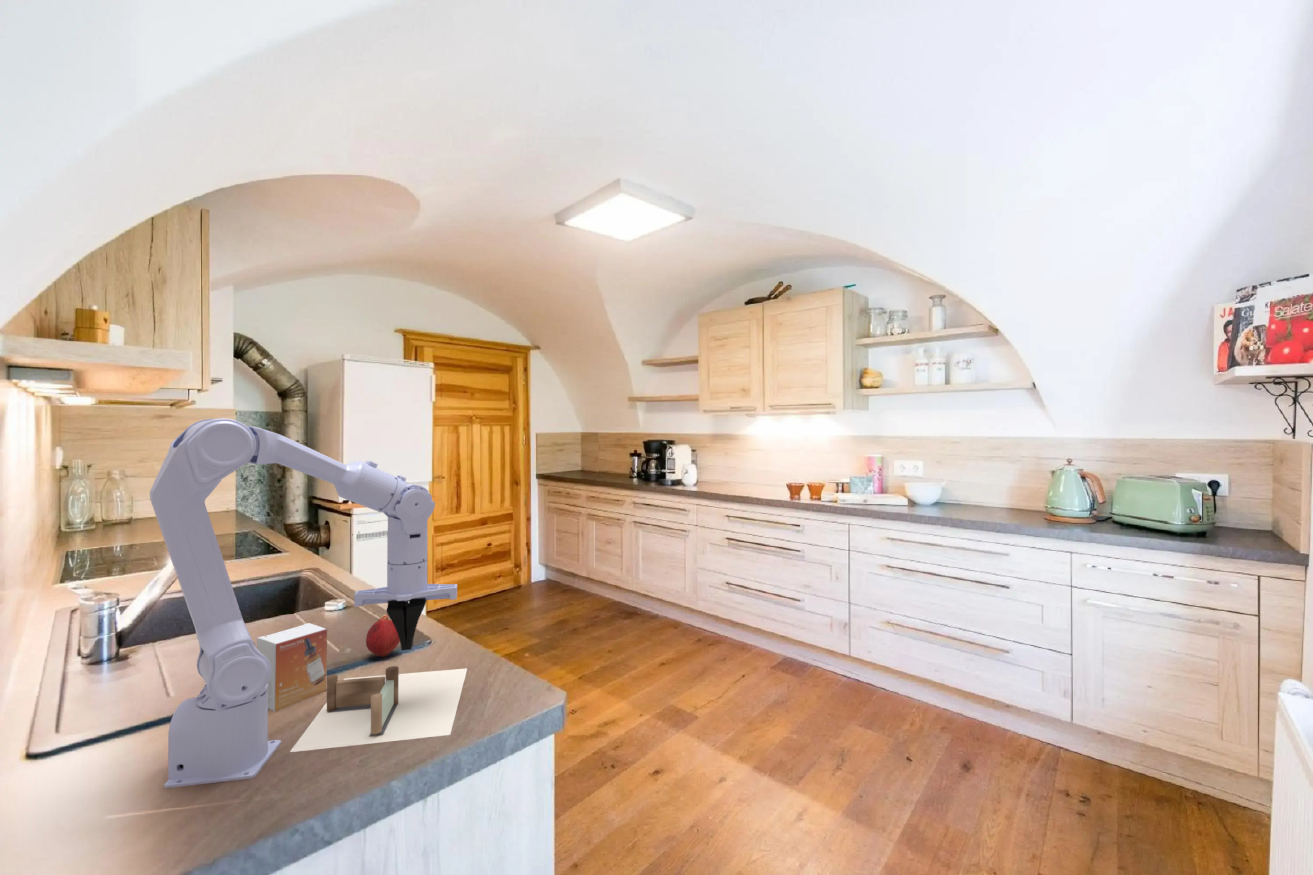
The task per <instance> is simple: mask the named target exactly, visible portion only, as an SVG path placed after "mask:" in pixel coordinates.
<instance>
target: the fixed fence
mask: <svg viewBox="0 0 1313 875" xmlns="http://www.w3.org/2000/svg"><path fill="white" fill-rule="evenodd" d="M399 674H400V673H399V666H396V665H395V666H389V667H387V668H386V669H385V675H386V681H387V680H394V704H393V706H395V705H397V704H398V677H399ZM338 677H339V676H338V674H331V675H328V676H327V688H326V703H327V712H328V711H329V712H331V711H335V710H336V709H337V707H346V706H357V705H368V704H371V696H372V695H373V694H377V693H380V692H381V690H382V688H383V686H384V685H385V676H383V677H371V678H359V679H347V680H344V679H339V680H338Z"/></svg>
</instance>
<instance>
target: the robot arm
mask: <svg viewBox="0 0 1313 875" xmlns="http://www.w3.org/2000/svg"><path fill="white" fill-rule="evenodd" d="M246 464H252V465H270V464H278V465H279V466H283V467H286V468H288V469H291V470H294V471H297V472H299V473H302V474H305V475H308V476H311V477H313V478H316V479H318V480H322V481H324V482H327V483H330V484H332V485H333V487H334V488H335V491H336V494H337V495H338V497H340V498H341V499H344V500H346V501H349V502H352V503H355V504H357V505H360V506H363V507H366V508H367V509H371V510H373V511H375V512H378V513H383V514H384V515H385V516H386V517H387V537H386V538H387V540H386V542H387V546H386V547H387V550H386V551H387V555H386V556H387V557H386V558H387V561H386V563H387V564H386V571H387V572H386V579H387V580H386V586H384V587H377V588H369V589H362V590H357V591H355V593H354V596H353V601H354V602H353V604H354V605H353V606H354V608H356V607H362V606H365V605H366V606H367V605H377V604H380V605H381V604H387V608H386V613H387V615H388V618H389V620H391V621H392V622H393V624H394V626H395V628H396V631H397V633H398V636H399V639H400V642H399V644H400V648H401V651H409V650H412V648H413V646H414V640H415V634H416V630H417V626H418V622H419V620H420V617H421V615H422V613H423V611H424V608H425V607H426V604H427V601H433V600H446V599H449V600H457V598H458V584H457V583H454V584H453V583H451V584H450V583H449V584H447V583H446V584H445V583H444V584H443V583H441V584H440V583H428V547H429V546H428V545H429V544H428V538H429V537H428V522H429V521H428V520H429V518H430V517H431V515H432V514H433V513H434V510H435V506H436V502H435V501H433V497H432V494H431V493H430V491H429V490H428V489H427V488H425V487H423V486H422V485H418V484H417V485H416V484H411V483H408V482H406V480H407V477H405V476H403V475H401V474H398V475H397V476H395V475H393V474H391V473H389V472H386V471H384V470H382V469H379V468H377V467H378V463H376V462H374V461H372V460H366V461H365V462H363V461H361V460H356V461H352V462H350V463H346V464H345V463H342V462H341V461H338V460H336V459H333V457H329V456H327V455H325V454H323V453H320V452H319V451H318V450H315V449H312V448H310V447H308V446H306V445H304V444H302V443H300V442H297V441H296V440H293V439H291V438H289V437H286V436H284V435H281V433H280V434H279V433H277V432H273V431H270V430H267V429H264V428H260V427H257V426H254V425H250V426H249V425H248V426H247V425H246V424H244V423H243V422H240V421H238V420H237V419H232V418H225V417H224V418H222V417H221V418H207V419H206V418H205V419H201V420H198V421H196V422H194V423H191V424H190V425H189V426H188V427H187V428H185V430H183V431H182V432H181V433H180V434H179V435H177V437H176V438H175V439H174V440H173V441H172V442H171V443H170V445H169V448H168V451H167V454H166V456H165V458H164V460H163V462H162V465H161V467H160V468H159V471H158V473H157V475H156V478H155V479H154V481H153V484H152V485H151V488H150V491H149V499H150V503H151V506H152V508H153V511H154V515H155V517H156V519H157V524H158V526H159V528H160V531H161V535H162V537H163V540H164V544H165V546H166V549H167V551H168V554H169V557H170V562H171V564H172V566H173V569H174V571H175V576H176V577H177V581H178V583H179V586H180V589H181V592H182V595H183V598H184V601H185V604H186V605H187V609H188V612H189V615H190V617H191V621H192V624H193V626H194V629H195V635H196V639H197V641H198V645H199V646H198V647H199V653H198V656H197V658H196V670H197V673H198V674H199V675H200V677H201V678H202V680H204V681H203V682H204V683H205V685H204V686H203V687H202V689H201V690H200V692H199V694H198V695H197V696H196V697H191V698H186V699H184V700H183V701H181V703H180V704H179V705H178V706H177V707H176V709H175V711H174V713H173V715H172V717H171V720H170V724H169V728H168V743H167V744H168V746H167V748H168V749H167V750H168V753H167V755H168V758H167V759H168V761H167V762H168V764H167V765H168V768H167V770H168V772H167V773H168V774H167V778H168V780H167V781H166V782H165V783H164V784H163V785H164V786H163V787H164V788H165V789H170V788H179V787H188V786H197V785H205V784H213V783H223V782H224V783H225V782H229V781H231V782H232V781H241V780H247V779H252V778H255V777H256V776H257V775H258V773H259V772H260V771H261V769H263V767H264V766H265V764H266V763H267V762H268V761H269V759H270V758H271V757H272V755H273V754H274V753H275V751H276V750H278V748H279V747H280V746H281V744H282V740H280V739H275V740H274V739H273V740H269V709H268V681H269V679H270V675H271V665H270V662H269V660H268V659H267V658H266V657H265V656H264V655H263V654H262V653H260V651H259V650H258V649H257V645H256V644H255V642H254V640H253V639H252V638H253V637H251V636H252V635H251V634H250V632H249V630H248V628H247V624H246V623H245V621H244V618H243V616H242V613H241V610H240V606H239V604H238V601H237V597H236V595H235V591H234V589H233V585H232V582H231V579H230V576H229V572H228V570H227V567H226V564H225V560H224V558H223V555H222V552H221V548H220V546H219V543H218V540H217V539H218V538H217V537H216V533H215V531H214V527H213V525H212V522H211V518H210V515H209V512H208V509H207V505H206V500H207V498H208V497H209V496H210V495H211V494H212V492H213V491H214V490H215V489H216V488H217V487H218V485H219V484H220V483H221V482H222V481H223V479H225V478H226V477H228V476H229V475H232V474H233V473H234V472H236V471H237V470H239V469H240V468H242V467H244V466H245V465H246Z"/></svg>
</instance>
